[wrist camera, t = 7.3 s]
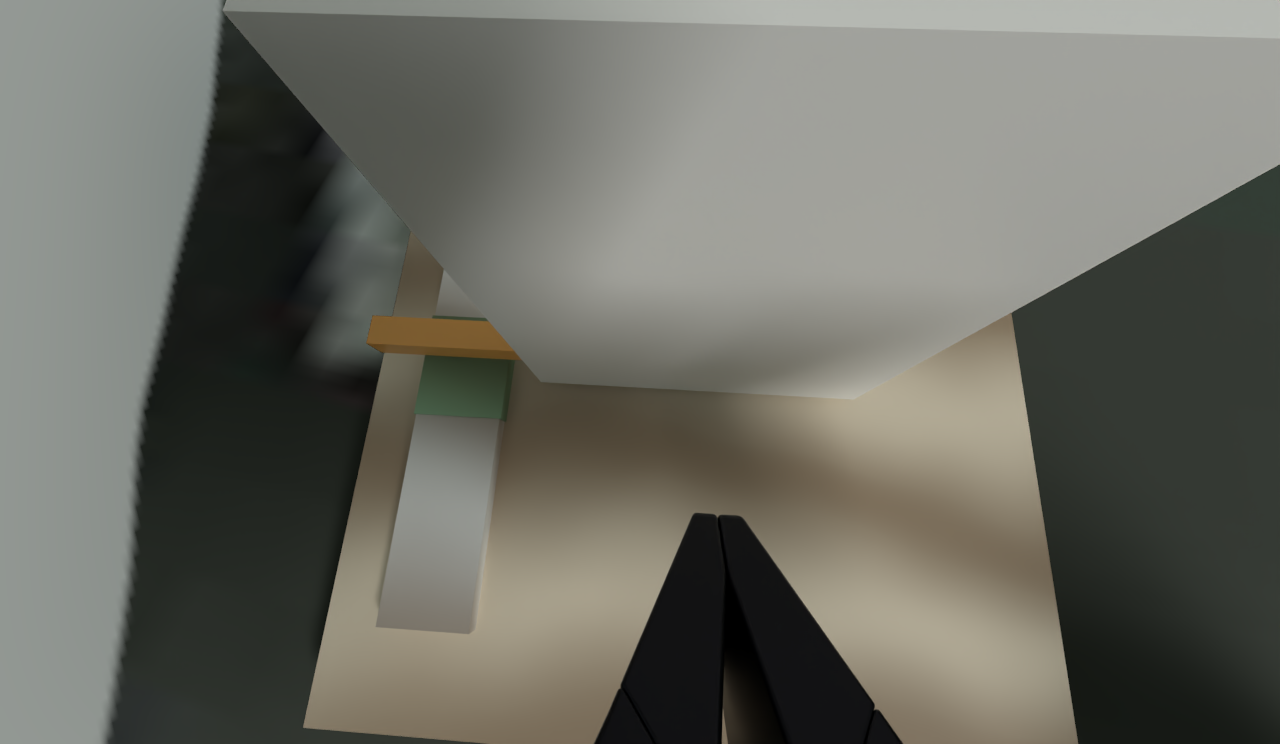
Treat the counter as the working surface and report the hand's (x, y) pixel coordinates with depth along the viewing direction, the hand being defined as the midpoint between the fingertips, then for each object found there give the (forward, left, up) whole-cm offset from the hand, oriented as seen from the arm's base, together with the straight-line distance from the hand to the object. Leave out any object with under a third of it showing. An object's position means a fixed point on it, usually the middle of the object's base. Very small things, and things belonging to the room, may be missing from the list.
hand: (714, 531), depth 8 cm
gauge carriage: (+5, +5, -5) cm, 8 cm away
